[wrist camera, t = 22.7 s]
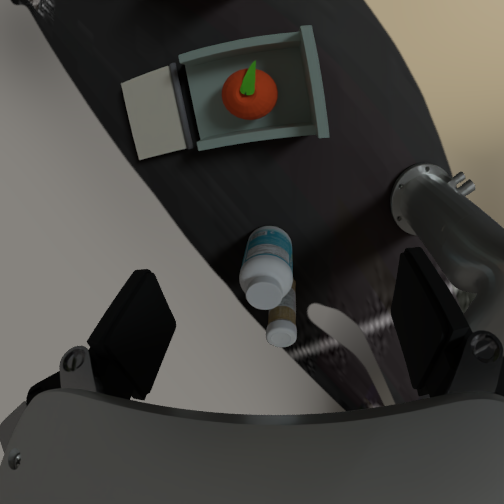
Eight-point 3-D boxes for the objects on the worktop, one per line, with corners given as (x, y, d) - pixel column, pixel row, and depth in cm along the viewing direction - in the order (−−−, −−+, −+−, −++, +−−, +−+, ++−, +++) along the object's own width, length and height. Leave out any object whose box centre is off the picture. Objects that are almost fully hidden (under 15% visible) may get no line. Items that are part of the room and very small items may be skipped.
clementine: (233, 60, 30) (222, 53, 24) (284, 68, 30) (284, 62, 24) (223, 113, 35) (210, 117, 29) (273, 122, 35) (270, 127, 29)
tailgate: (174, 62, 30) (120, 82, 32) (192, 148, 37) (139, 161, 39) (176, 63, 31) (124, 82, 33) (194, 147, 38) (142, 159, 39)
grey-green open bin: (305, 40, 29) (311, 25, 21) (319, 128, 35) (329, 137, 28) (186, 61, 32) (161, 54, 24) (204, 144, 38) (183, 157, 31)
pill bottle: (277, 269, 49) (272, 325, 37) (240, 249, 48) (225, 302, 36) (300, 237, 45) (304, 290, 34) (261, 215, 44) (252, 263, 32)
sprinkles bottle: (277, 295, 52) (274, 351, 41) (266, 278, 50) (260, 333, 39) (300, 287, 50) (301, 343, 39) (289, 269, 49) (289, 325, 37)
